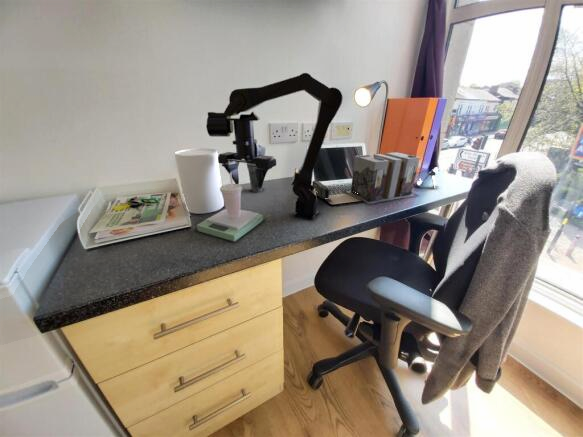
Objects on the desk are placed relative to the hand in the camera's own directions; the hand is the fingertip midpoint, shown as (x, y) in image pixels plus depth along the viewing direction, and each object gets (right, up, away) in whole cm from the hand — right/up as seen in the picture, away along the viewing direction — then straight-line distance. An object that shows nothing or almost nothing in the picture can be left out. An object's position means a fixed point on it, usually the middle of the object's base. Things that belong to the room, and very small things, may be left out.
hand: (248, 186), depth 78 cm
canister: (-18, -6, +11) cm, 22 cm away
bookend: (+53, 0, +24) cm, 58 cm away
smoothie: (-4, -10, -4) cm, 11 cm away
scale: (-5, -13, -3) cm, 14 cm away
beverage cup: (-1, +2, +27) cm, 27 cm away
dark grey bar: (+27, -1, +21) cm, 34 cm away
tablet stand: (+78, +4, +33) cm, 85 cm away
